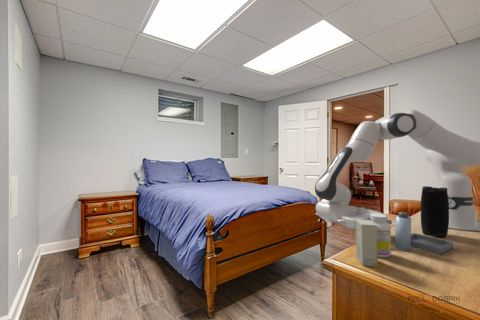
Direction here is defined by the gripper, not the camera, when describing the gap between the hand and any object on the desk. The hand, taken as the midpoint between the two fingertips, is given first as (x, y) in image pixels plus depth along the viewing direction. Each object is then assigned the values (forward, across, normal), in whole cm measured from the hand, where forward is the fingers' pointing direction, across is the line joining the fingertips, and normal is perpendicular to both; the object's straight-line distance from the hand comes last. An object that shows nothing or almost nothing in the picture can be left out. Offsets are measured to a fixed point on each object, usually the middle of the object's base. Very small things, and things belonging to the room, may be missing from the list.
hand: (384, 224), depth 83 cm
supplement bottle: (+4, -12, +7) cm, 15 cm away
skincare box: (+5, -21, +7) cm, 23 cm away
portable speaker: (+6, +27, +7) cm, 28 cm away
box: (+9, +10, +7) cm, 15 cm away
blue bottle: (+6, 0, +7) cm, 9 cm away
